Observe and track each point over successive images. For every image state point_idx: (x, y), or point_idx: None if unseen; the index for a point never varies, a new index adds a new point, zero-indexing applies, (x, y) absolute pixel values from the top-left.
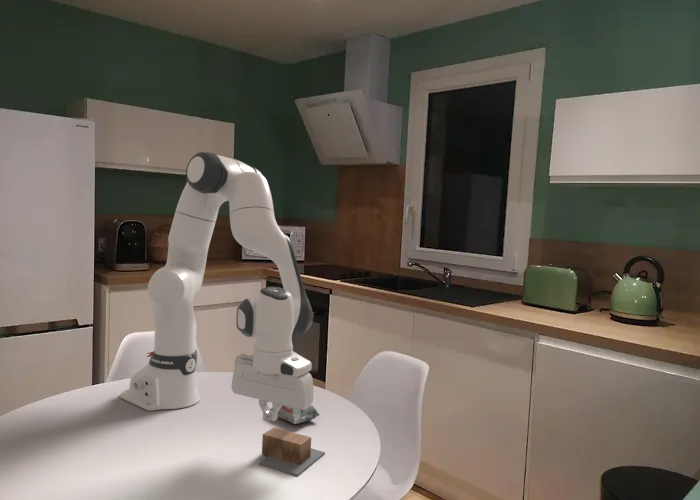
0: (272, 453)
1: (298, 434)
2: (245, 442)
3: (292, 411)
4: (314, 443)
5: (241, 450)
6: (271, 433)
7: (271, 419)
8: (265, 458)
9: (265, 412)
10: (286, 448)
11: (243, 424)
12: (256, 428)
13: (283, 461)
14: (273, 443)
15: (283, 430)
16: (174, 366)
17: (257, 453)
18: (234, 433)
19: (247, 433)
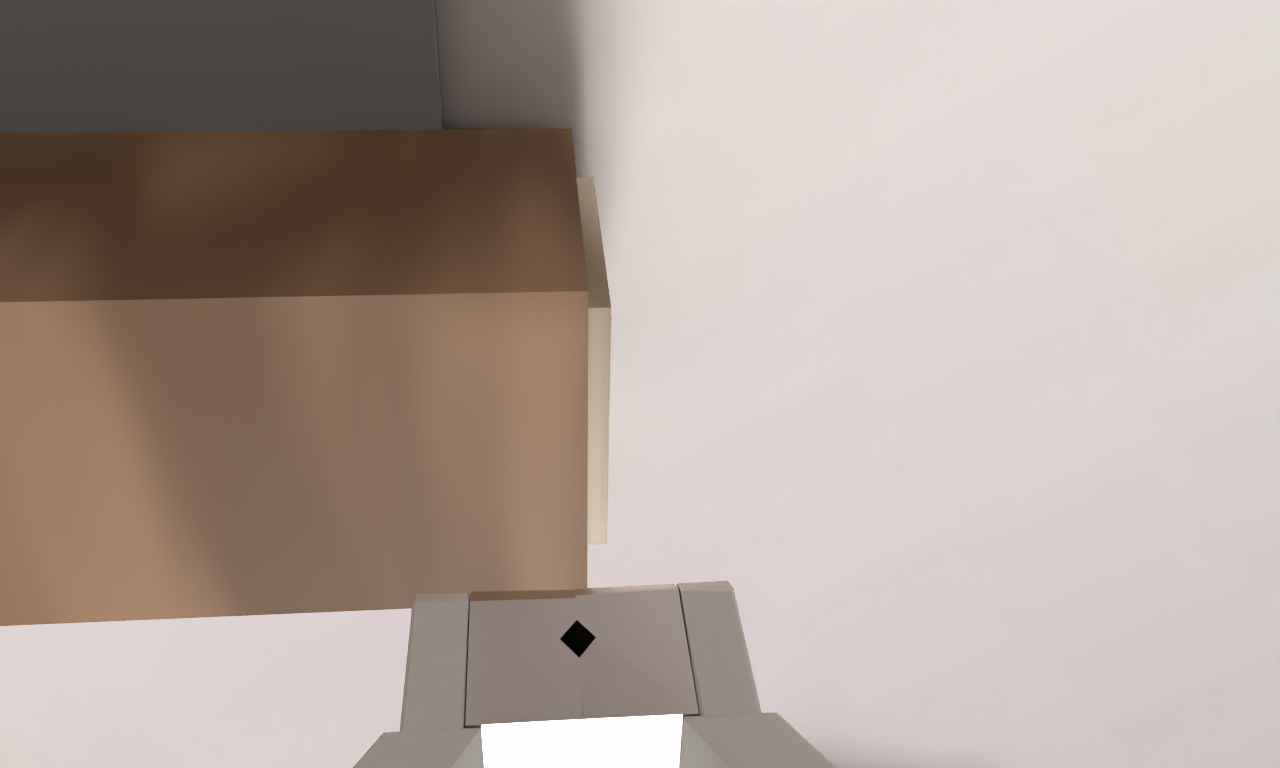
0: (354, 151)
1: (22, 609)
2: (1008, 317)
3: None
4: (206, 707)
5: (945, 89)
6: (459, 402)
7: (461, 609)
8: (414, 20)
9: (672, 714)
10: (15, 228)
11: (1242, 651)
12: (1048, 652)
13: (100, 92)
14: (319, 234)
15: (360, 594)
16: None
17: (668, 138)
18: (1263, 437)
19: (1097, 515)
